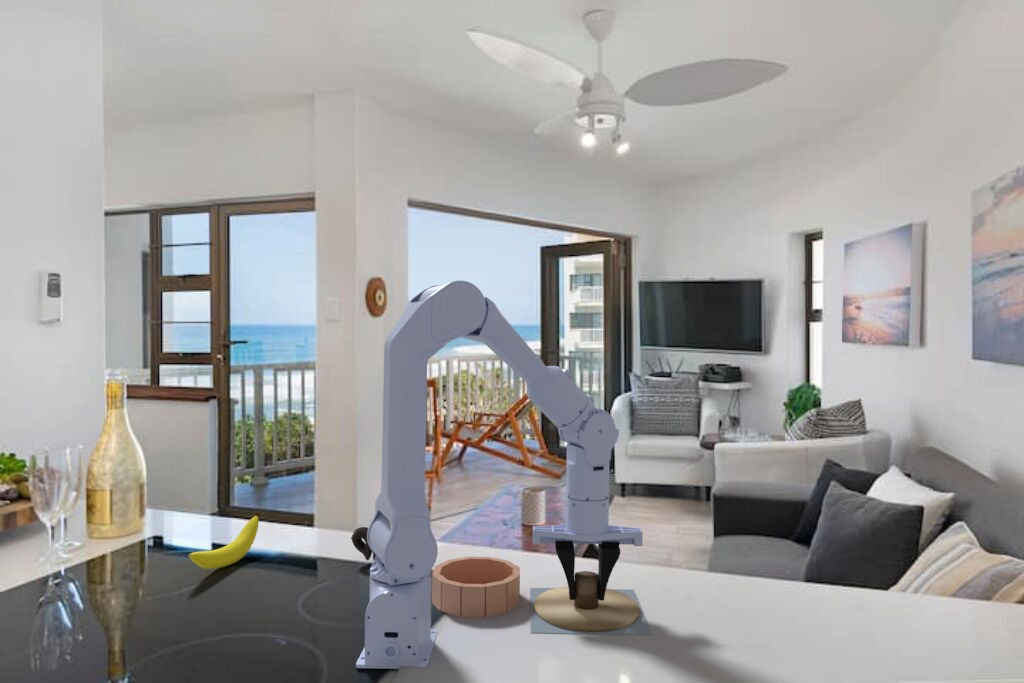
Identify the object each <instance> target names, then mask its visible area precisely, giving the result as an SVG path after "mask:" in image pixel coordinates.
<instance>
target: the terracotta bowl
mask: <svg viewBox="0 0 1024 683" xmlns="http://www.w3.org/2000/svg"><path fill="white" fill-rule="evenodd" d="M520 580H521V567H520V566H518V565H516V564H515V563H513V562H512V561H510V560H507V559H501V558H499V557H498V558H497V557H492V556H463V557H458V558H453V559H452V558H451V559H447V560H445V561H444V562H442V563H440V564H436V565H434V569H433V571H432V572H431V605H434V607H436V609H437V610H439V611H440V612H442V613H444V614H449V615H453V616H457V617H461V618H485V617H486V618H489V617H494V616H498V615H502V614H507V613H509V612H510V611H512V610H514V609H515V608H516V607H518V606H520V592H521V588H520V587H521V583H520Z"/></svg>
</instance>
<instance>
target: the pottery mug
mask: <svg viewBox="0 0 1024 683" xmlns="http://www.w3.org/2000/svg"><path fill="white" fill-rule="evenodd" d="M368 528H369V526H368V527H367V526H361V527H358V528H356V529H355V530H354V531H353V534H352V536H351V537H350V539H351V541H352V544H353V546H354V548H355V549H356V550H357V551H358V552H359V553H361V554H362V555H363V556H364V558H365V560H366V561H370V559H371V557H372V559H373V560H374V559H375V558H376V555H375V554H374V553H373V552H372V550H371V549H370V547H369V545H368V541H367V532H368Z"/></svg>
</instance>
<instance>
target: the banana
mask: <svg viewBox="0 0 1024 683" xmlns="http://www.w3.org/2000/svg"><path fill="white" fill-rule="evenodd" d="M260 514H261V512H255V514H254V516H253V517H252V518H251V519H249V520H248V522H247V523H246V524H245V526H244V527H243V528H242V530H241V531H240V533H239V534H238V535H237V537H236V538H234V540H233V541H232V542H230V543H228V544H227V545H225V546H222V547H220V548H217V549H213V550H205V551H204V550H203V551H194V552H191V553H189V554H188V557H189V559H190V560H191V561H192V562H193V563H194V564H195V565H197V566H198V567H200V568H202V569H206V570H212V569H221V568H225V567H227V566H230V565H233V564H234V563H235V564H236V563H237V562H238V561H240V560H241V559H243V558H244V557H245V555H246V554H248V552H249V550H250V549H251V547H252V546H253V545H254V541H255V539H256V536H257V533H258V530H259V516H260Z"/></svg>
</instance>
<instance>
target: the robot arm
mask: <svg viewBox="0 0 1024 683" xmlns="http://www.w3.org/2000/svg"><path fill="white" fill-rule="evenodd" d="M388 334H389V335H388V336H387V338H386V340H385V342H384V349H383V350H384V352H383V393H382V394H383V395H382V398H383V400H382V440H381V441H382V442H381V444H382V445H381V453H382V454H381V488H380V489H381V490H380V492H379V494H378V496H377V498H376V499H375V509H374V514H373V517H372V518H371V522H370V523H369V525H368V532H367V541H368V545H369V547H370V549H371V550H372V552H373V553H374V554H375V555H376V558H375V559H373V561H372V563H371V567H370V568H369V602H368V605H367V606H366V610H365V613H364V647H363V649H362V651H361V653H360V655H359V657H358V658H357V660H356V663H355V667H356V668H357V669H382V670H383V669H384V670H386V669H388V670H389V669H390V670H399V669H400V667H409V668H410V667H415V668H416V667H417V668H418V667H419V668H420V667H421V668H423V667H427V666H428V665H429V662H430V658H431V655H432V651H433V648H434V645H435V643H436V642H435V641H436V637H437V635H438V629H435V628H432V569H433V567H435V563H436V561H437V558H438V553H439V552H438V551H439V550H438V543H437V540H436V538H435V536H434V534H433V531H432V528H431V513H430V512H431V511H430V508H429V505H428V502H427V499H426V491H425V490H426V489H425V488H426V450H427V449H426V448H427V446H426V444H427V398H428V396H427V395H428V394H427V393H428V391H427V390H428V362H429V360H430V359H431V358H432V357H433V356H435V354H437V353H438V352H439V351H441V349H443V348H444V347H445V346H446V345H447V344H448V343H451V342H452V341H454V340H457V339H459V338H462V339H467V340H471V341H476V342H479V343H482V344H484V345H486V346H487V348H489V349H490V350H491V351H492V352H493V353H494V354H495V356H497V357H498V358H499V359H500V360H501V361H503V362H504V364H506V365H507V366H508V367H509V368H510V369H511V370H512V371H513V372H514V373H516V375H518V377H520V378H521V379H522V380H523V381H524V382H525V384H526V396H527V398H528V399H529V400H530V402H532V403H533V405H535V406H536V407H537V409H538V410H539V411H540V412H541V413H542V414H543V415H544V416H545V417H546V418H547V419H548V420H549V421H551V423H552V424H553V425H554V426H555V427H556V428H557V432H558V436H559V438H560V440H561V441H563V442H565V443H566V466H565V467H566V468H565V469H566V470H565V471H566V472H565V474H566V477H565V478H566V480H565V482H566V484H565V486H566V487H565V490H566V491H565V523H564V524H555V525H554V524H553V525H533V526H532V545H538V546H540V545H542V544H554V547H555V553H556V555H557V558H558V559H559V561H560V564H561V566H562V569H563V572H564V575H565V578H566V582H567V586H568V587H569V597H570V600H575V563H576V553H575V552H576V551H575V545H576V544H577V545H579V544H581V545H582V544H583V545H597V548H598V549H597V550H598V552H597V553H598V554H597V555H598V557H597V559H598V571H597V572H598V573H597V574H598V575H599V588H598V599H599V600H602V601H603V600H604V596H605V591H606V589H607V588H608V586H607V585H608V582H609V580H610V577H611V574H612V572H613V570H614V567H615V566H616V564H617V562H618V560H619V558H620V555H621V548H620V545H629V546H630V545H633V546H634V547H642V546H643V531H642V529H641V528H640V527H629V526H619V525H610V524H609V523H610V522H609V520H610V519H609V516H610V514H609V513H610V510H609V508H610V507H609V506H610V461H612V459H611V458H612V451H613V448H614V447H615V445H616V444H617V441H618V440H619V434H620V429H618V428H616V424H615V420H614V417H613V416H612V415H611V414H610V412H608V411H607V410H604V409H601V408H597V407H595V406H596V405H595V404H594V402H595V399H594V397H592V395H590V394H585V392H584V391H583V390H582V389H581V388H580V387H579V386H578V385H577V384H576V383H575V382H574V381H573V380H572V377H573V376H574V374H573V373H572V372H571V371H570V370H569V369H568V368H567V369H566V368H561V367H560V366H557V365H549V366H548V365H547V366H546V365H545V363H544V362H543V361H542V360H541V358H540V357H539V356H538V355H537V354H536V353H535V352H534V350H533V349H532V348H531V347H530V346H529V345H528V343H527V342H526V341H525V340H524V339H523V338H522V337H521V335H520V334H519V333H518V332H517V330H515V328H514V327H513V326H512V325H511V324H510V323H509V321H508V320H507V319H506V318H505V316H504V315H503V314H502V313H501V311H500V310H499V308H498V307H497V305H496V304H495V302H493V300H492V299H490V298H488V297H487V296H484V294H483V292H482V291H481V290H480V288H478V287H477V286H476V285H475V284H474V283H471V282H469V281H466V280H454V281H450V282H448V283H445V284H437V285H430V286H428V287H426V288H424V289H422V290H421V291H420V292H419V293H417V294H415V295H414V296H413V297H412V298H410V299H409V300H408V301H407V305H406V308H405V310H404V311H403V313H402V314H401V316H400V318H399V319H398V321H397V322H396V324H395V325H394V327H392V330H391V332H390V333H388ZM373 553H372V554H373Z"/></svg>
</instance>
